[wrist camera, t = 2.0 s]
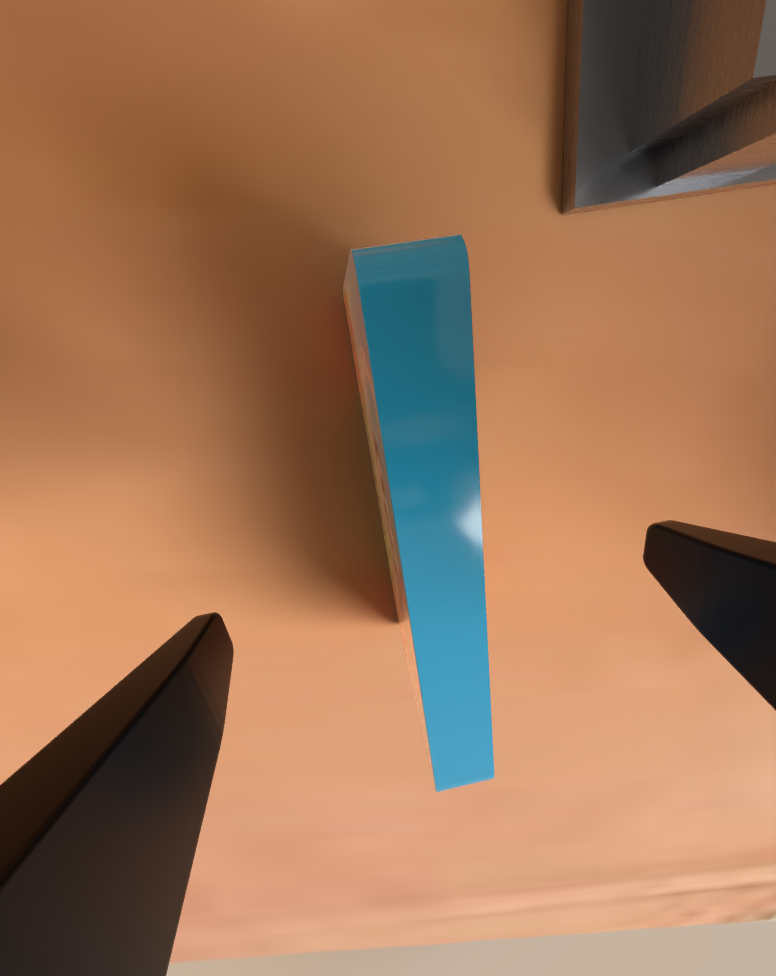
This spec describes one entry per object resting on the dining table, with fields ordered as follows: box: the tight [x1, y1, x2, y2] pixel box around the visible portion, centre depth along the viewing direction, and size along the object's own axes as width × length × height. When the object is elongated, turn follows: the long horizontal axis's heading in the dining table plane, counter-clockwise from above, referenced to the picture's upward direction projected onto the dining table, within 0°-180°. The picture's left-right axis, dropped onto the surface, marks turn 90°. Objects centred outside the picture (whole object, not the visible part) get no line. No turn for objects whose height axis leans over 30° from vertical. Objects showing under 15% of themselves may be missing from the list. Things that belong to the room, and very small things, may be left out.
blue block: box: [343, 234, 494, 792], centre depth 10 cm, size 12×2×6 cm, turn 8°
